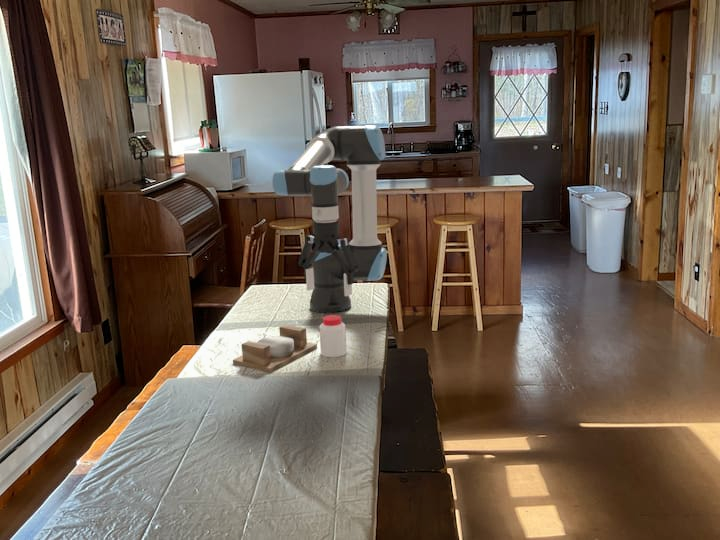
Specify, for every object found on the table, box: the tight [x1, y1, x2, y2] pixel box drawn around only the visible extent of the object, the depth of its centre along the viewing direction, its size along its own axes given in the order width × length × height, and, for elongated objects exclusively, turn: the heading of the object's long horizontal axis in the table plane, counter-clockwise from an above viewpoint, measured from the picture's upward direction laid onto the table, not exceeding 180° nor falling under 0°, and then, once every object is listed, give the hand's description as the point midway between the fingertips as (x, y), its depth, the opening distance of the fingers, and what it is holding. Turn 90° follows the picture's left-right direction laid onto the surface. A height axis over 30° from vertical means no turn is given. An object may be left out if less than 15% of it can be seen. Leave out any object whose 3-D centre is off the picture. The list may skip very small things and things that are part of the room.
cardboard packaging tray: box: [232, 324, 318, 373], centre depth 202 cm, size 22×14×6 cm, turn 147°
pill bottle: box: [318, 314, 347, 358], centre depth 202 cm, size 8×8×11 cm
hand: (329, 292), depth 199 cm, fingers open, 13 cm apart
